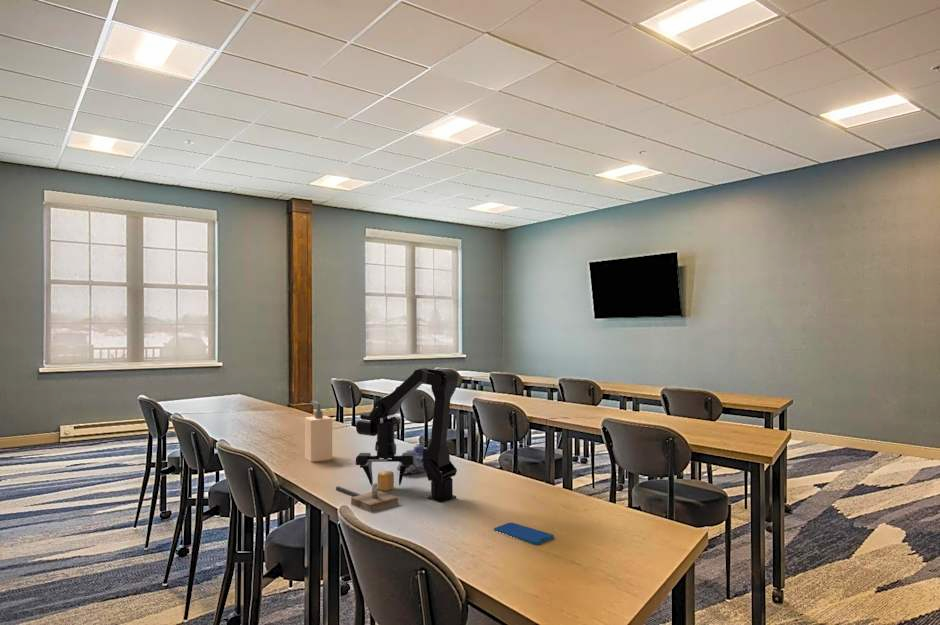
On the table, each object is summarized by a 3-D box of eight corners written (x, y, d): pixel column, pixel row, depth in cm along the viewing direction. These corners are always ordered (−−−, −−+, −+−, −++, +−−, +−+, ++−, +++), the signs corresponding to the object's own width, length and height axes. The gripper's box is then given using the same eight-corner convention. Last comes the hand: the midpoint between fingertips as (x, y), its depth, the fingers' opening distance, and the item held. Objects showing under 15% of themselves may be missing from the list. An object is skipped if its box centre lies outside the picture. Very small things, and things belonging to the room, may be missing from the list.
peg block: (398, 504, 172) (398, 483, 173) (370, 511, 165) (370, 490, 166) (378, 496, 180) (378, 477, 180) (351, 504, 173) (351, 484, 173)
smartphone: (510, 521, 156) (555, 535, 145) (510, 525, 156) (555, 539, 145) (491, 528, 151) (536, 543, 140) (492, 532, 151) (536, 547, 140)
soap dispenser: (332, 459, 229) (332, 403, 229) (310, 462, 225) (310, 405, 225) (322, 453, 240) (322, 400, 240) (302, 455, 236) (302, 401, 236)
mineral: (422, 441, 219) (435, 444, 210) (425, 466, 219) (439, 470, 210) (388, 451, 210) (400, 454, 202) (391, 477, 210) (404, 481, 202)
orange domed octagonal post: (396, 488, 189) (396, 472, 189) (384, 491, 185) (384, 475, 185) (387, 485, 192) (387, 470, 192) (375, 488, 189) (374, 473, 189)
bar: (366, 500, 176) (366, 496, 176) (363, 500, 176) (363, 497, 176) (338, 489, 188) (338, 486, 188) (336, 489, 187) (336, 486, 187)
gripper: (416, 432, 197) (416, 478, 197) (362, 432, 197) (362, 478, 197) (413, 439, 186) (413, 487, 186) (355, 439, 186) (355, 488, 186)
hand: (385, 485), depth 189 cm, fingers open, 9 cm apart
